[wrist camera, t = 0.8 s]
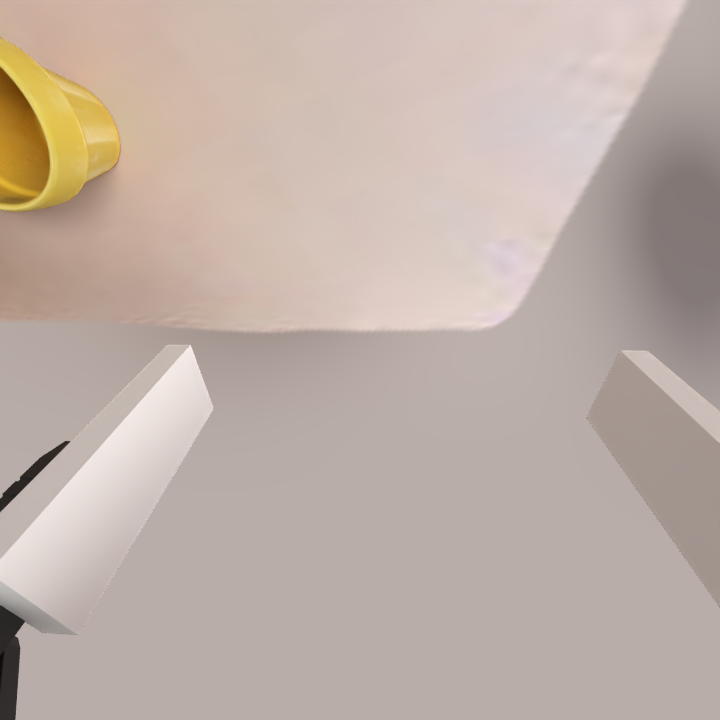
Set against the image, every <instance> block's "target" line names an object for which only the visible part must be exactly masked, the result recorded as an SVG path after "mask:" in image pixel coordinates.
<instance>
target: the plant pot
mask: <svg viewBox="0 0 720 720" xmlns="http://www.w3.org/2000/svg"><path fill="white" fill-rule="evenodd" d="M119 155H120V140H119V134H118V131H117V128H116V125H115V123H114V121H113V119H112V117H111V115H110V114H109V112H108V111H107V109H106V108H105V106H104V105H103V104H102V103H101V102H100V101H99V100H98V99H97V98H96V97H95V96H94V95H93V94H92V93H91V92H89V91H88V90H87V89H85V88H84V87H82V86H80V85H78V84H76V83H74V82H72V81H70V80H68V79H65V78H63V77H61V76H59V75H57V74H55V73H53V72H51V71H49V70H47V69H45V68H43V67H41V66H40V65H39V64H38V63H37V62H36V61H35V60H34V59H32V58H31V57H30V56H29V55H27V54H26V53H25V52H24V51H22V50H21V49H19V48H18V47H17V46H15V45H13V44H12V43H10V42H8V41H7V40H5V39H3V38H1V37H0V210H3V211H11V212H23V211H31V210H37V209H42V208H47V207H51V206H55V205H58V204H62V203H65V202H67V201H69V200H70V199H72V198H73V197H74V196H76V195H77V194H78V193H79V191H80V190H81V189H82V187H83V186H84V183H86V182H88V181H90V180H92V179H94V178H95V177H97V176H99V175H101V174H103V173H105V172H107V171H109V170H110V169H112V168H113V167H114V165H115V164H116V163H117V161H118V159H119Z"/></svg>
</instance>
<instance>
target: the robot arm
mask: <svg viewBox="0 0 720 720" xmlns="http://www.w3.org/2000/svg"><path fill="white" fill-rule="evenodd" d="M213 409H214V408H213V405H212V402H211V400H210V397H209V394H208V392H207V389H206V386H205V383H204V381H203V378H202V375H201V372H200V370H199V367H198V364H197V361H196V358H195V356H194V353H193V350H192V348H191V345H168V344H167V345H166V346H165V347H164V348H163V349H162V350H161V351H160V352H159V353H158V354H157V355H156V356H155V357H154V358H153V359H152V360H151V361H150V362H149V363H148V364H147V365H146V366H145V368H143V369H142V370H141V372H139V373H138V374H137V375H136V376H135V378H133V379H132V381H130V382H129V384H127V385H126V386H125V388H124V389H123V390H122V391H120V393H118V395H117V396H116V397H115V398H114V399H113V400H112V401H111V402H110V403H109V404H108V405H107V406H106V407H105V408H104V409H103V410H102V411H101V412H100V413H99V414H98V415H97V416H96V417H95V418H94V419H93V420H92V421H91V422H90V423H89V424H88V425H87V426H86V427H85V428H84V429H83V430H82V431H81V432H80V433H79V434H78V435H77V436H76V437H75V438H74V439H73V440H72V441H65V442H64V443H62V444H60V445H59V446H57V447H56V448H54V449H53V450H51V451H50V452H48V453H47V454H45V455H43V456H42V457H41V458H39V459H38V460H37V461H36V462H35V463H34V464H33V465H32V466H31V467H30V468H29V469H28V470H27V471H26V472H25V473H24V474H23V475H22V476H21V477H20V480H19V481H16V482H15V483H13V484H12V485H11V486H10V487H9V488H8V489H7V490H6V491H5V492H4V493H3V497H2V498H0V720H15V715H16V701H17V688H18V672H19V659H20V645H19V641H18V638H17V637H15V635H16V633H17V632H18V631H19V629H20V628H21V626H22V625H23V624H24V622H26V623H27V624H29V625H31V626H32V627H34V628H35V629H37V630H39V631H40V632H42V633H54V634H69V635H78V634H79V632H80V631H81V629H82V627H83V626H84V624H85V622H86V621H87V619H88V617H89V616H90V614H91V612H92V611H93V609H94V607H95V606H96V604H97V602H98V601H99V599H100V597H101V596H102V594H103V592H104V591H105V589H106V587H107V586H108V584H109V582H110V580H111V579H112V577H113V576H114V574H115V572H116V571H117V569H118V567H119V566H120V564H121V562H122V561H123V559H124V557H125V556H126V554H127V552H128V551H129V549H130V547H131V546H132V544H133V542H134V541H135V539H136V537H137V536H138V534H139V532H140V531H141V529H142V527H143V526H144V524H145V522H146V521H147V519H148V517H149V516H150V514H151V512H152V511H153V509H154V507H155V506H156V504H157V502H158V501H159V499H160V497H161V496H162V494H163V492H164V491H165V489H166V487H167V486H168V484H169V482H170V481H171V479H172V478H173V476H174V474H175V472H176V471H177V469H178V468H179V466H180V464H181V463H182V461H183V459H184V458H185V456H186V454H187V453H188V451H189V449H190V448H191V446H192V444H193V442H194V441H195V439H196V438H197V436H198V434H199V433H200V431H201V429H202V428H203V426H204V424H205V423H206V421H207V419H208V418H209V416H210V414H211V413H212V411H213ZM586 418H587V420H588V421H589V422H590V424H591V425H592V427H593V428H594V430H595V431H596V432H597V434H598V435H599V437H600V438H601V439H602V441H603V442H604V444H605V445H606V447H607V448H608V450H609V451H610V452H611V454H612V455H613V457H614V458H615V459H616V461H617V462H618V464H619V465H620V467H621V468H622V469H623V471H624V472H625V474H626V475H627V476H628V478H629V479H630V481H631V482H632V484H633V485H634V486H635V488H636V489H637V491H638V492H639V493H640V495H641V496H642V498H643V499H644V501H645V502H646V504H647V505H648V506H649V508H650V509H651V510H652V512H653V513H654V515H655V516H656V518H657V519H658V520H659V522H660V523H661V525H662V526H663V528H664V529H665V530H666V532H667V533H668V535H669V536H670V538H671V539H672V540H673V542H674V543H675V545H676V546H677V548H678V549H679V550H680V552H681V553H682V555H683V556H684V557H685V559H686V560H687V561H688V563H689V565H690V566H691V567H692V569H693V570H694V572H695V573H696V574H697V576H698V577H699V579H700V580H701V582H702V583H703V584H704V586H705V587H706V589H707V590H708V591H709V593H710V594H711V596H712V597H713V599H714V600H715V601H716V603H717V604H718V606H719V607H720V411H718V410H717V409H716V408H715V407H714V406H712V405H711V404H710V403H709V402H708V401H707V400H705V399H704V398H703V397H702V396H701V395H699V394H698V393H697V392H696V391H695V390H693V389H692V388H691V387H690V386H689V385H687V384H686V383H685V382H684V381H683V380H682V379H680V378H679V377H678V376H677V375H676V374H674V373H673V372H672V371H671V370H670V369H668V368H667V367H666V366H665V365H664V364H662V363H661V362H660V361H659V360H658V359H657V358H655V357H654V356H653V355H652V354H651V353H649V352H648V351H624V350H623V351H622V350H621V351H620V352H619V354H618V356H617V358H616V360H615V362H614V364H613V366H612V368H611V370H610V372H609V374H608V376H607V378H606V380H605V382H604V384H603V386H602V387H601V389H600V391H599V393H598V395H597V397H596V399H595V401H594V403H593V405H592V407H591V409H590V411H589V413H588V415H587V417H586Z"/></svg>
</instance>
